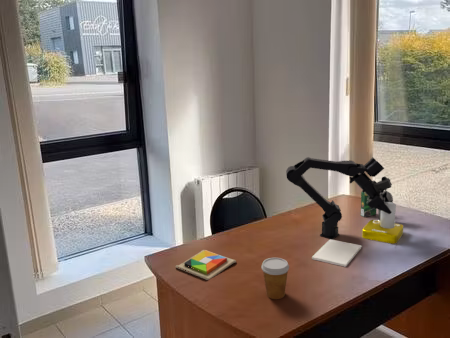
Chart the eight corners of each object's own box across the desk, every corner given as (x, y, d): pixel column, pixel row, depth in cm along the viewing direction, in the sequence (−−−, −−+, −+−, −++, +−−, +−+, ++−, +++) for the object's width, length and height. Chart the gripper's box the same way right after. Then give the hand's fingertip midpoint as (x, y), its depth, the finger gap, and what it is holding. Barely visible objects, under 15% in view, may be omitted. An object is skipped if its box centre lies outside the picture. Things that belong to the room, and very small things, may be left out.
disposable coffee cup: (286, 286, 160) (286, 256, 157) (291, 301, 151) (291, 268, 148) (260, 288, 160) (259, 257, 157) (263, 302, 150) (262, 270, 147)
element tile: (360, 238, 198) (361, 228, 197) (370, 227, 210) (371, 217, 209) (395, 245, 190) (396, 235, 189) (403, 233, 202) (404, 223, 201)
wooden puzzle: (174, 269, 177) (173, 261, 177) (206, 252, 191) (205, 245, 190) (206, 282, 166) (205, 273, 166) (237, 263, 180) (237, 255, 179)
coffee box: (363, 217, 221) (364, 192, 218) (359, 215, 224) (360, 191, 221) (376, 215, 224) (377, 190, 221) (372, 213, 227) (373, 188, 224)
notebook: (311, 259, 180) (311, 256, 180) (329, 241, 196) (329, 239, 196) (345, 266, 172) (345, 264, 172) (361, 247, 188) (361, 245, 188)
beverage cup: (375, 224, 213) (377, 184, 208) (376, 218, 219) (378, 180, 214) (391, 225, 210) (393, 185, 205) (392, 220, 217) (394, 181, 212)
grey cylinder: (377, 226, 194) (378, 204, 192) (383, 222, 198) (385, 201, 196) (390, 229, 190) (392, 207, 187) (396, 225, 194) (398, 203, 191)
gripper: (377, 178, 182) (404, 206, 180) (383, 167, 198) (408, 193, 196) (357, 194, 187) (383, 222, 185) (364, 182, 203) (388, 208, 201)
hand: (391, 210), depth 192 cm, fingers closed on grey cylinder, 6 cm apart
